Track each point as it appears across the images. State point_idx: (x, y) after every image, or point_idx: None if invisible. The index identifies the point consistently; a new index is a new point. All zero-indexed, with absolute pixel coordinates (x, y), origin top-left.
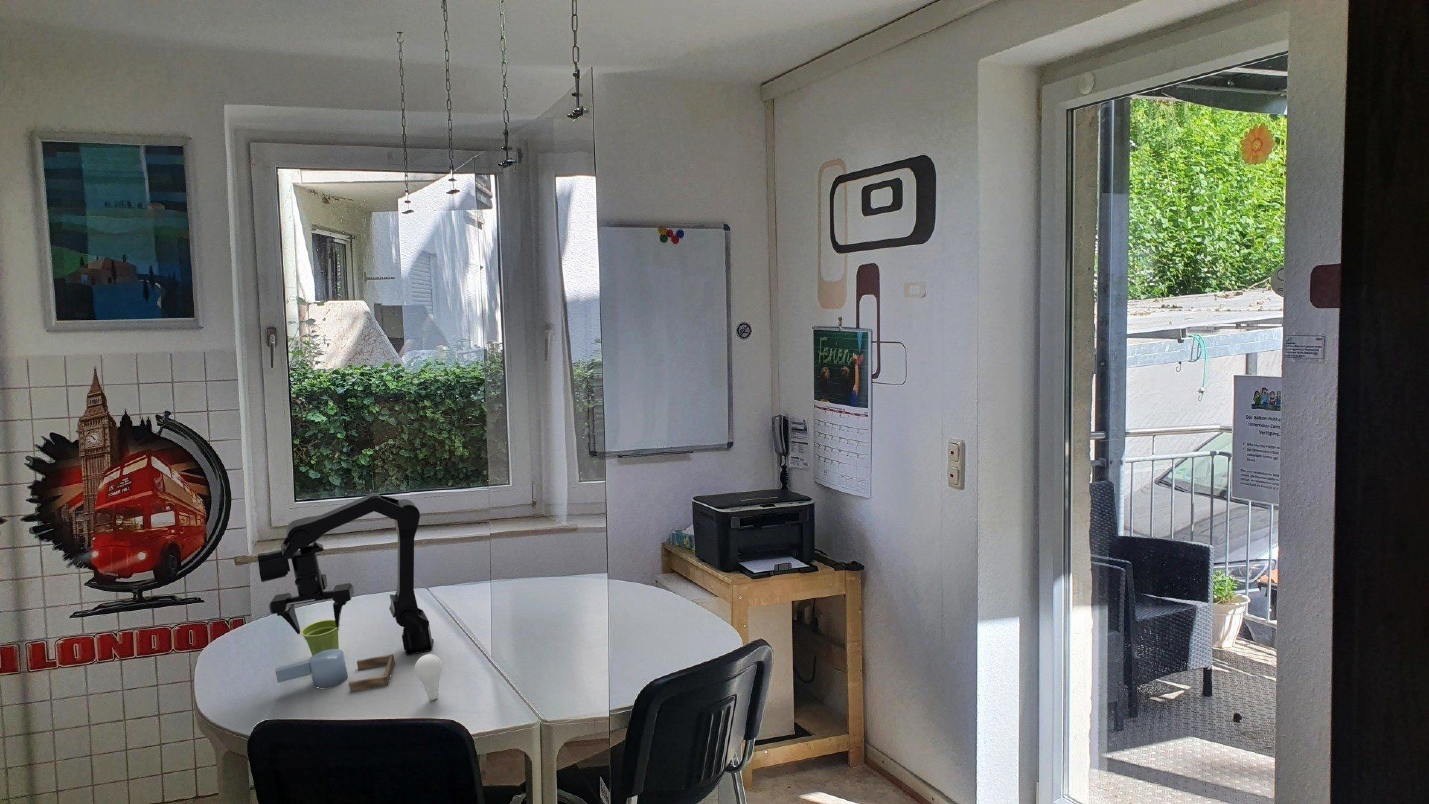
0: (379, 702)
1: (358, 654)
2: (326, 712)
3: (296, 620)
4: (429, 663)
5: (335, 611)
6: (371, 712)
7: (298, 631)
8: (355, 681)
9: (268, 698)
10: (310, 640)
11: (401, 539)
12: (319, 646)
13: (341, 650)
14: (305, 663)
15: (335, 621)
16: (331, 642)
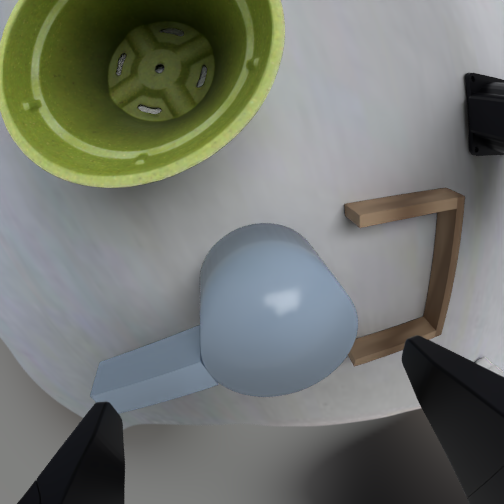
0: (406, 379)
1: (307, 68)
2: (303, 413)
3: (87, 502)
4: None
5: (476, 490)
6: (390, 404)
7: (123, 445)
8: (371, 357)
9: (96, 353)
10: (94, 158)
11: None
12: (152, 140)
13: (346, 296)
14: (204, 387)
15: (429, 416)
16: (217, 101)
